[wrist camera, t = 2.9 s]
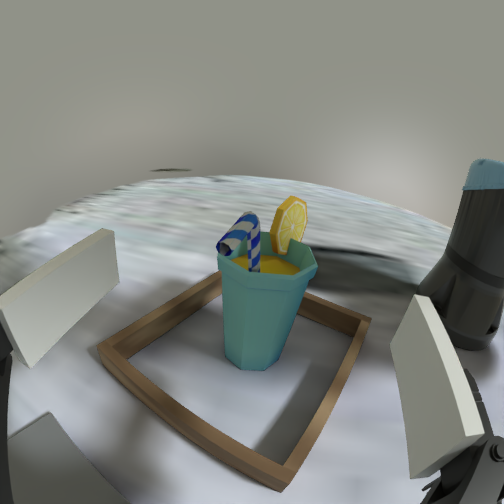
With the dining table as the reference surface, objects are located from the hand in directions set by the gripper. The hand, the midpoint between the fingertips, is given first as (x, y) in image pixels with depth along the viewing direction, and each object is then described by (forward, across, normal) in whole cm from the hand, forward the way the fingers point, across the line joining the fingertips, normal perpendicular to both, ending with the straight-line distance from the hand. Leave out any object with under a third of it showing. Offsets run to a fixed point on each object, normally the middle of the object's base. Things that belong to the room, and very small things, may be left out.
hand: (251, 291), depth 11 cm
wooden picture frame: (+9, -1, -13) cm, 16 cm away
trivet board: (-16, -6, -14) cm, 22 cm away
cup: (+9, -1, -14) cm, 16 cm away
